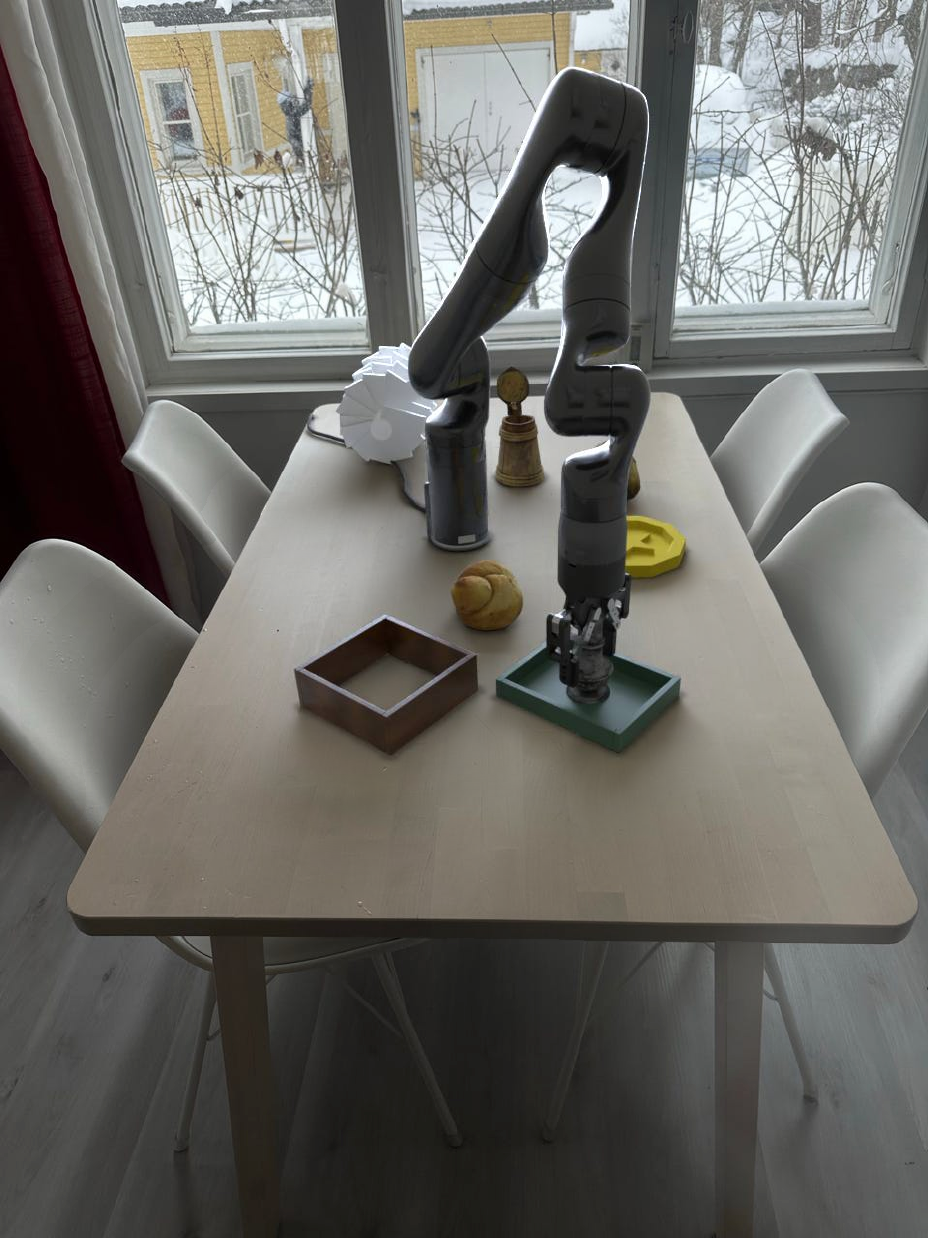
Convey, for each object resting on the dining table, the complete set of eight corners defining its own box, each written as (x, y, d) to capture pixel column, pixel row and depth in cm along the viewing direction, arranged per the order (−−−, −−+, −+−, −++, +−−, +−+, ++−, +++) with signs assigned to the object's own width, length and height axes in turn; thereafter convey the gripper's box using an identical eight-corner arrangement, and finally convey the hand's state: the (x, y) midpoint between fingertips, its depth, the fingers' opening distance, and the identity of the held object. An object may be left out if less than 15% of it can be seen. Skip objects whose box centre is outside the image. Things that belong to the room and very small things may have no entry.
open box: (299, 705, 113) (293, 668, 111) (388, 648, 123) (385, 613, 120) (390, 756, 105) (386, 717, 102) (478, 690, 114) (477, 653, 112)
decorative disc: (608, 517, 154) (608, 506, 153) (704, 545, 144) (705, 534, 143) (550, 556, 143) (550, 545, 142) (650, 589, 134) (650, 577, 133)
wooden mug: (535, 457, 178) (535, 364, 169) (548, 484, 167) (548, 386, 157) (489, 460, 178) (487, 367, 168) (499, 488, 166) (496, 390, 157)
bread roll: (455, 589, 136) (453, 541, 132) (522, 588, 135) (521, 539, 131) (451, 637, 125) (448, 586, 121) (523, 636, 124) (523, 584, 120)
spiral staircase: (364, 488, 179) (382, 435, 199) (443, 451, 173) (454, 400, 194) (312, 408, 170) (337, 361, 191) (394, 365, 164) (411, 322, 185)
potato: (591, 506, 158) (593, 462, 154) (588, 476, 169) (590, 434, 165) (640, 506, 157) (643, 462, 153) (634, 476, 168) (637, 434, 164)
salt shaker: (610, 707, 109) (615, 621, 103) (561, 703, 111) (562, 618, 104) (614, 679, 114) (618, 595, 108) (566, 675, 115) (568, 592, 109)
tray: (495, 696, 113) (495, 679, 112) (560, 646, 122) (560, 630, 121) (618, 753, 103) (619, 734, 102) (679, 695, 112) (681, 677, 111)
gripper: (599, 514, 109) (594, 632, 117) (525, 562, 99) (526, 686, 108) (655, 531, 104) (646, 652, 113) (583, 582, 95) (579, 709, 104)
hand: (587, 668), depth 111 cm, fingers open, 7 cm apart
